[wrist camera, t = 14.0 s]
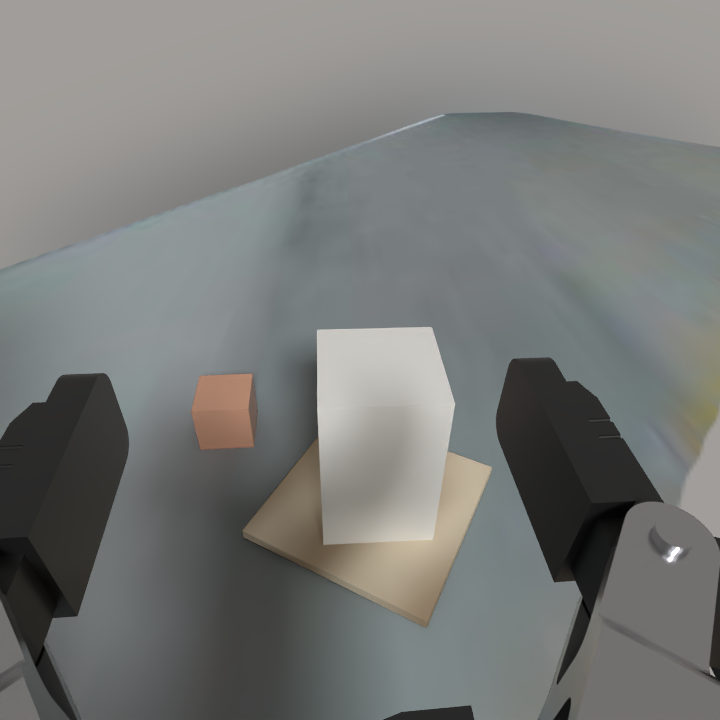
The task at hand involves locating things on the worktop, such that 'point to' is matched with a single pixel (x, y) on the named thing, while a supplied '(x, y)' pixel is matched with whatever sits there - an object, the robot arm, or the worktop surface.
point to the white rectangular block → (381, 433)
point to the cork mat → (377, 559)
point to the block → (225, 411)
